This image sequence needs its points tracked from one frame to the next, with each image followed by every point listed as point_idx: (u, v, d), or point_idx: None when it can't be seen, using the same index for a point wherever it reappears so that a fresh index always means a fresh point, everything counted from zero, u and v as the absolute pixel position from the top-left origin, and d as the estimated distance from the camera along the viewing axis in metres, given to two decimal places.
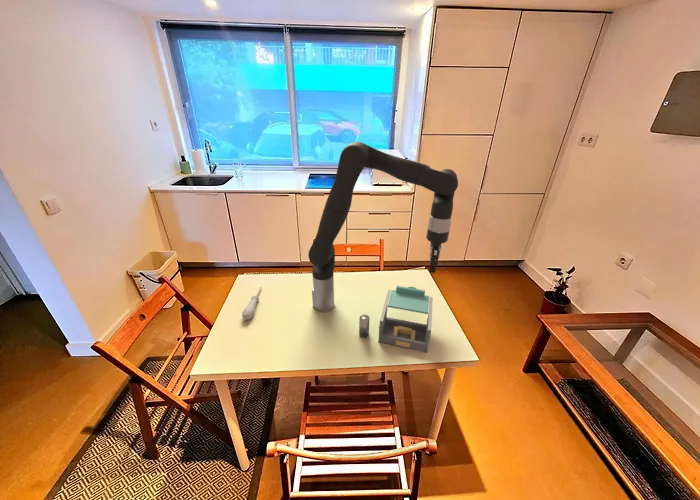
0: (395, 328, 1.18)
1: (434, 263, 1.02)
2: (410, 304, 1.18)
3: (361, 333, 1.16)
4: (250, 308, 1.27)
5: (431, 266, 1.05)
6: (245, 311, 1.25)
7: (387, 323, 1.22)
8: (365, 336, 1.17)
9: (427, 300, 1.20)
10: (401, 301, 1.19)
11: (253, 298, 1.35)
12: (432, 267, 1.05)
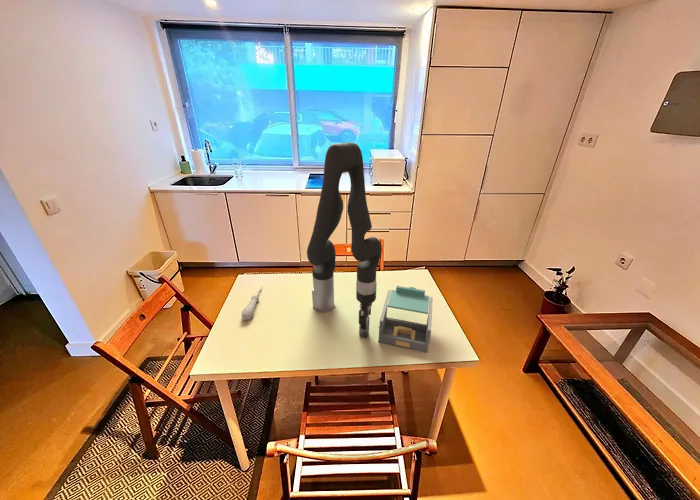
0: (395, 328, 1.18)
1: (362, 322, 1.07)
2: (410, 304, 1.18)
3: (361, 333, 1.16)
4: (249, 308, 1.28)
5: (361, 324, 1.10)
6: (244, 311, 1.26)
7: (387, 323, 1.22)
8: (365, 336, 1.17)
9: (427, 300, 1.20)
10: (401, 301, 1.19)
11: (253, 298, 1.35)
12: (362, 325, 1.10)
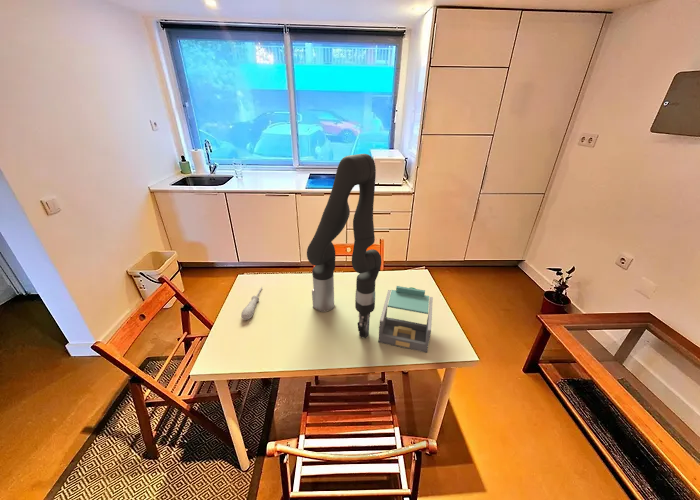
0: (395, 328, 1.18)
1: (362, 330, 1.11)
2: (410, 304, 1.18)
3: None
4: (249, 308, 1.28)
5: (361, 331, 1.14)
6: (244, 311, 1.26)
7: (387, 323, 1.22)
8: (365, 336, 1.17)
9: (427, 300, 1.20)
10: (401, 301, 1.19)
11: (253, 298, 1.35)
12: (361, 332, 1.14)
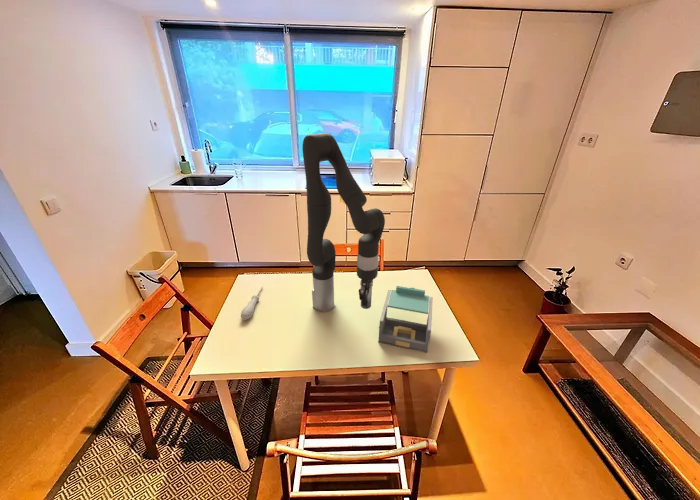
0: (395, 328, 1.18)
1: (363, 298, 1.04)
2: (410, 304, 1.18)
3: None
4: (249, 308, 1.28)
5: (362, 300, 1.07)
6: (244, 311, 1.26)
7: (387, 323, 1.22)
8: (367, 306, 1.09)
9: (427, 300, 1.20)
10: (401, 301, 1.19)
11: (253, 298, 1.35)
12: (363, 301, 1.07)
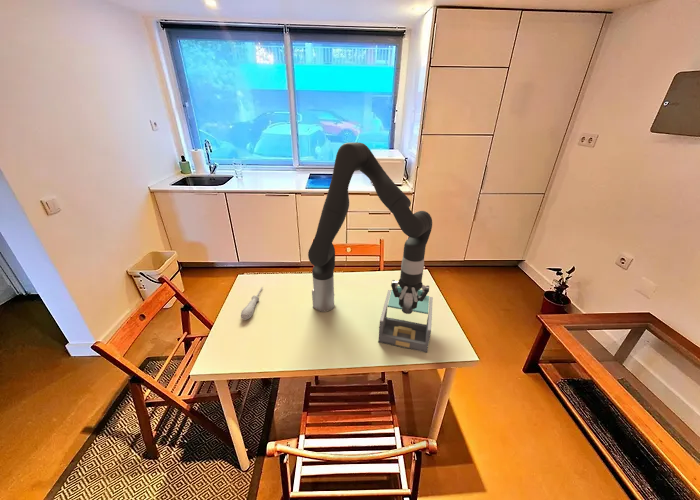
0: (395, 328, 1.18)
1: None
2: None
3: None
4: (249, 308, 1.28)
5: None
6: (244, 311, 1.26)
7: (387, 323, 1.22)
8: (402, 309, 1.08)
9: (427, 300, 1.20)
10: None
11: (253, 298, 1.36)
12: (399, 299, 1.08)
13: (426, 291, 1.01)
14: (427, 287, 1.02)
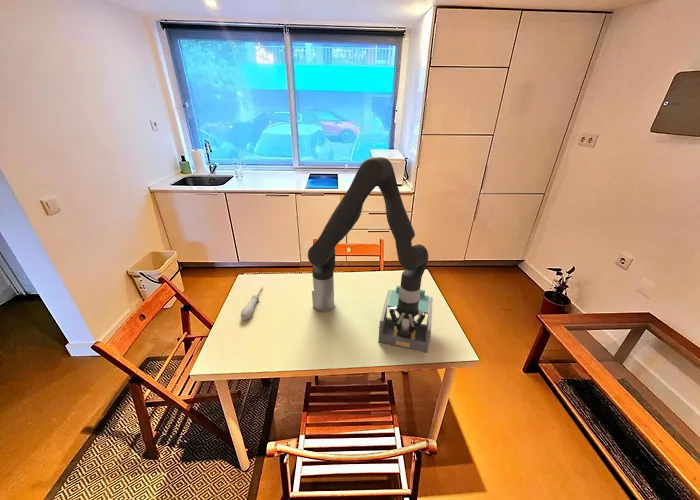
0: (395, 328, 1.18)
1: None
2: None
3: None
4: (249, 308, 1.28)
5: None
6: (244, 311, 1.26)
7: (387, 323, 1.22)
8: (400, 333, 1.14)
9: (427, 300, 1.20)
10: None
11: (253, 298, 1.36)
12: None
13: (422, 317, 1.07)
14: (423, 313, 1.08)
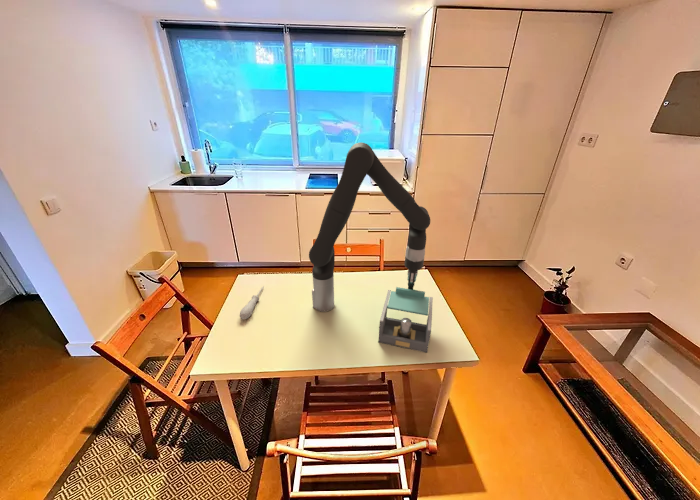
0: (395, 328, 1.18)
1: None
2: (410, 305, 1.17)
3: None
4: (248, 307, 1.28)
5: (409, 286, 1.22)
6: (243, 310, 1.26)
7: (387, 323, 1.22)
8: None
9: (427, 301, 1.19)
10: (401, 302, 1.18)
11: (253, 297, 1.36)
12: (410, 287, 1.22)
13: None
14: None
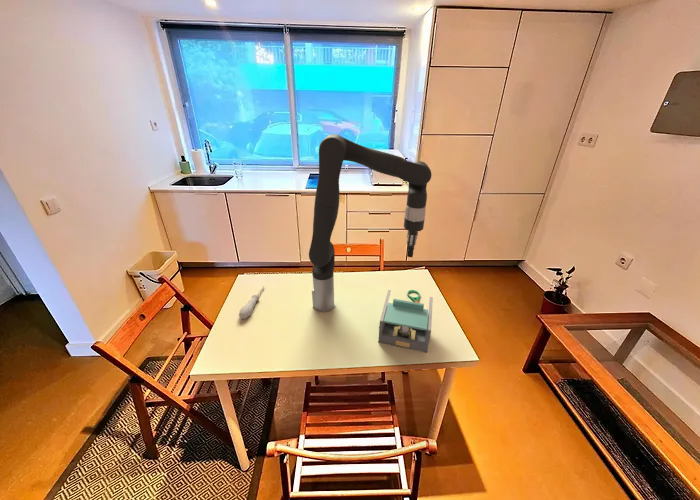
0: (395, 328, 1.18)
1: (411, 248, 1.13)
2: (408, 319, 1.10)
3: None
4: (248, 307, 1.28)
5: (409, 251, 1.15)
6: (242, 310, 1.26)
7: (387, 323, 1.22)
8: None
9: (426, 315, 1.12)
10: (398, 316, 1.11)
11: (253, 297, 1.36)
12: (409, 252, 1.15)
13: None
14: None
